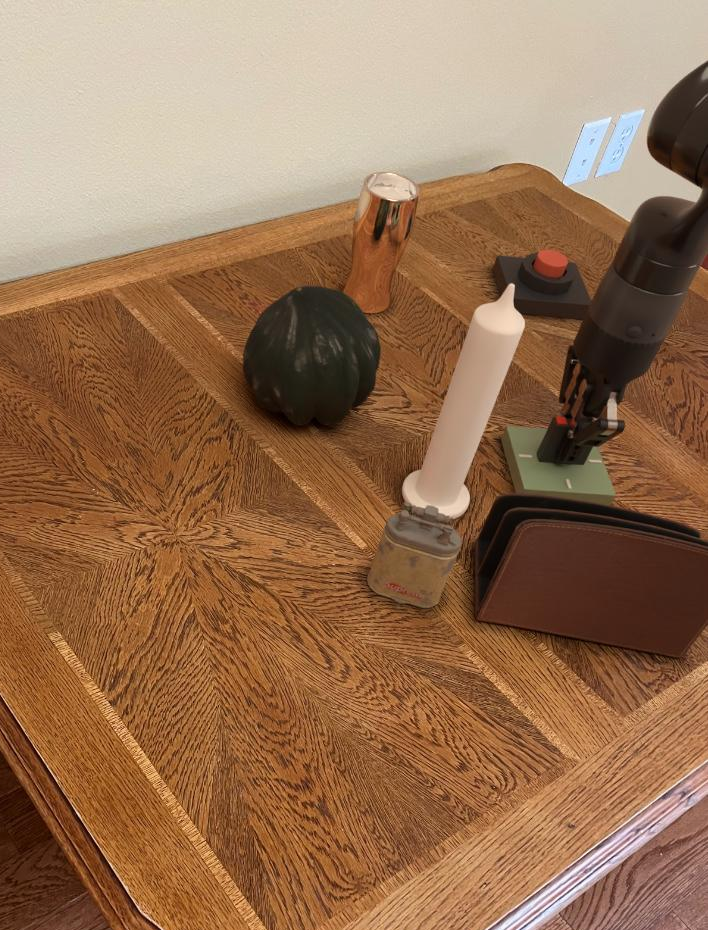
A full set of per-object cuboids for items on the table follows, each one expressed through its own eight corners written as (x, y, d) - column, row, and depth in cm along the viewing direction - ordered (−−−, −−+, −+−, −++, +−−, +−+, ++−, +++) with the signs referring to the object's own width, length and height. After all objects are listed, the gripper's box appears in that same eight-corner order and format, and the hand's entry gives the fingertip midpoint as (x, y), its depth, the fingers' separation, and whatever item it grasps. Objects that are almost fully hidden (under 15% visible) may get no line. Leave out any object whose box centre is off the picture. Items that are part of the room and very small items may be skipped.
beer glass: (390, 320, 117) (420, 206, 106) (335, 309, 117) (359, 194, 106) (394, 290, 122) (423, 177, 110) (341, 280, 122) (364, 166, 110)
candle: (459, 530, 95) (545, 318, 76) (393, 506, 96) (462, 292, 77) (474, 487, 99) (560, 276, 80) (411, 465, 101) (481, 251, 81)
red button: (559, 263, 124) (564, 250, 122) (566, 280, 121) (571, 267, 120) (530, 260, 123) (534, 247, 122) (536, 277, 121) (541, 265, 119)
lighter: (442, 587, 90) (473, 514, 82) (435, 616, 88) (466, 544, 80) (371, 565, 91) (394, 491, 83) (362, 593, 88) (385, 519, 81)
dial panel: (585, 445, 106) (593, 430, 104) (608, 508, 100) (617, 494, 98) (500, 439, 105) (506, 424, 103) (518, 502, 99) (524, 487, 97)
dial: (580, 456, 102) (599, 418, 98) (583, 465, 101) (603, 427, 97) (536, 453, 101) (553, 415, 97) (539, 461, 100) (556, 424, 96)
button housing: (569, 277, 129) (580, 250, 126) (587, 320, 123) (599, 293, 119) (491, 269, 128) (501, 242, 125) (505, 312, 121) (516, 285, 118)
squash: (419, 356, 104) (354, 235, 97) (372, 437, 95) (297, 310, 88) (319, 389, 113) (253, 281, 106) (267, 465, 105) (192, 353, 98)
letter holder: (682, 661, 88) (762, 561, 77) (473, 622, 88) (523, 517, 77) (667, 581, 94) (739, 479, 83) (472, 545, 94) (519, 438, 83)
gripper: (691, 365, 83) (611, 503, 97) (647, 278, 92) (580, 416, 105) (610, 358, 82) (541, 498, 96) (573, 271, 91) (515, 411, 104)
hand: (561, 454), depth 100 cm, fingers closed
